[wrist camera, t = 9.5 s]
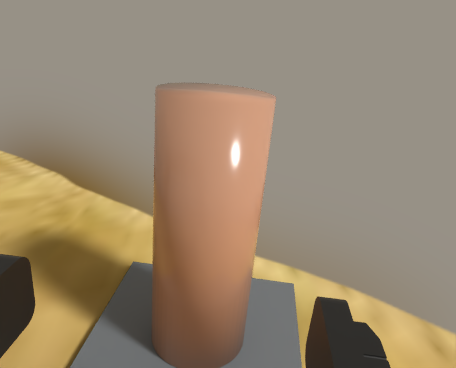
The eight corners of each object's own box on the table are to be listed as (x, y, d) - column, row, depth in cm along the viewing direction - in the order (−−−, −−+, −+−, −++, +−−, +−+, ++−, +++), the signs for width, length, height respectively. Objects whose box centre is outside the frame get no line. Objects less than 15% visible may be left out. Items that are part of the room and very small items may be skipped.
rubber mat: (46, 418, 17) (44, 409, 17) (133, 268, 28) (133, 261, 28) (307, 461, 17) (310, 452, 16) (292, 290, 28) (293, 283, 27)
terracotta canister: (138, 362, 20) (138, 93, 15) (164, 297, 25) (172, 79, 20) (240, 378, 19) (277, 108, 14) (246, 309, 24) (275, 90, 19)
